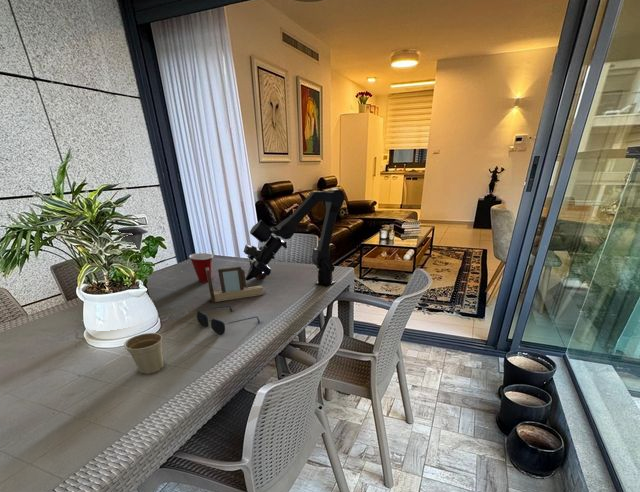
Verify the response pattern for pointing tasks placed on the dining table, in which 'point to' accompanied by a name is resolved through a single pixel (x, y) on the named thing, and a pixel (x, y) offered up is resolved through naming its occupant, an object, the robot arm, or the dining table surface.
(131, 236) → the solar garden light
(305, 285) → the dining table surface
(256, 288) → the wooden display stand
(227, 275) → the brown picture frame
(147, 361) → the flower pot
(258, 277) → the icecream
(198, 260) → the plastic cup
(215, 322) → the sunglasses
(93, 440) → the dining table surface
